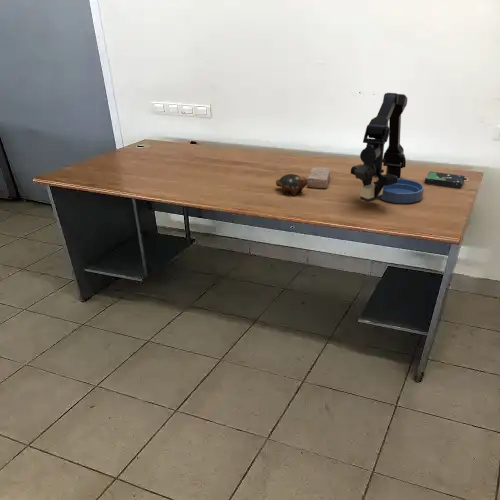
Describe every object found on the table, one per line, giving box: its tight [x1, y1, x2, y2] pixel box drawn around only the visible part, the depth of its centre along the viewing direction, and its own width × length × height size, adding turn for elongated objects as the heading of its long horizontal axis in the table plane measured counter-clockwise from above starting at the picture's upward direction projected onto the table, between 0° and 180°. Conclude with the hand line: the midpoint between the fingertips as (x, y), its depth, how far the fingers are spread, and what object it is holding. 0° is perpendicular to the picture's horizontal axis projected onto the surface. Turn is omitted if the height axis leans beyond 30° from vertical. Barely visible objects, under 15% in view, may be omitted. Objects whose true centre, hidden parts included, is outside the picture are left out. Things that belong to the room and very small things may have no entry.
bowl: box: [380, 178, 425, 205], centre depth 205 cm, size 18×18×4 cm
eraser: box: [359, 182, 383, 203], centre depth 194 cm, size 8×4×5 cm, turn 125°
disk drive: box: [424, 171, 466, 189], centre depth 218 cm, size 10×3×15 cm
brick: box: [307, 167, 331, 189], centre depth 221 cm, size 17×8×5 cm, turn 167°
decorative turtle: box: [275, 173, 308, 197], centre depth 210 cm, size 10×15×8 cm, turn 58°
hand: (371, 195), depth 195 cm, fingers closed on eraser, 4 cm apart
